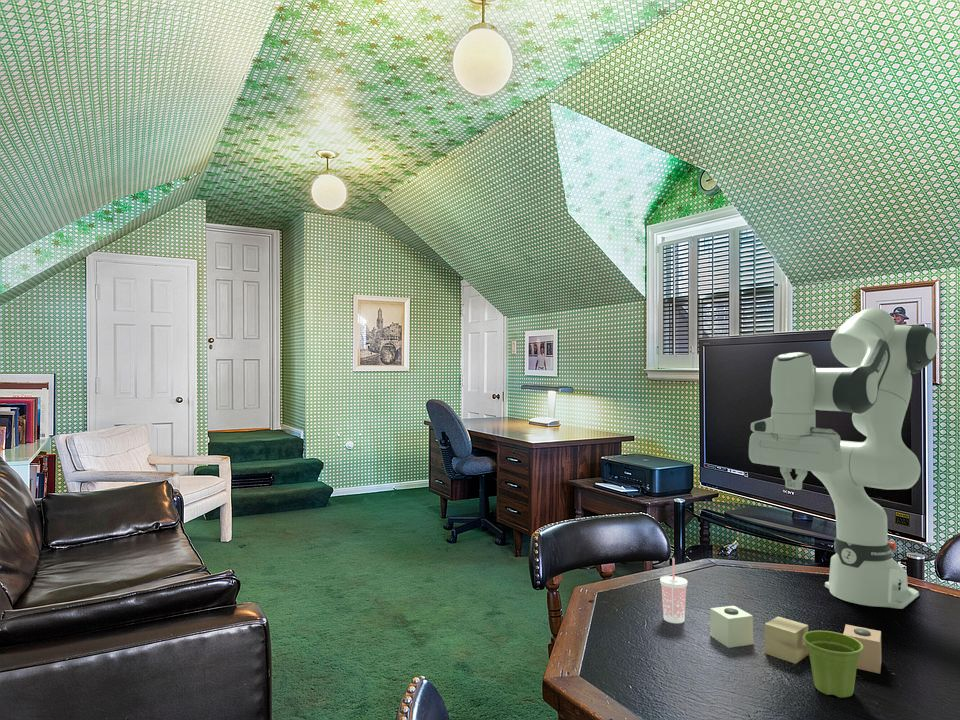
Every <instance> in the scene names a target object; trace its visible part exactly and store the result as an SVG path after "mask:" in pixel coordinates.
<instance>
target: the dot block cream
mask: <svg viewBox="0 0 960 720" xmlns="http://www.w3.org/2000/svg"><path fill="white" fill-rule="evenodd" d="M709 610H710V611H709V612H710V614H709V615H710V617H709V618H710V620H709V621H710V623H709V624H710V625H709V626H710V628H709V629H710V630H709V631H710V635H709V636H710V637H711V636H712V637H711V638H713V639H714V638H715V639H714V640H716V641H717V642H718V643H720V644H722V645H724V646H725V647H726V648H728V649H729V648H735V647H742V646H743V647H745V646H750V645H752V646H753V645H754V615H752V614H751V613H749V612H747V611H744V610H743V609H741V608H740V607H737V606H735V605H727V606H719V607H710V609H709Z"/></svg>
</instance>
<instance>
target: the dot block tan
mask: <svg viewBox="0 0 960 720" xmlns="http://www.w3.org/2000/svg"><path fill="white" fill-rule="evenodd" d="M842 634H844V635H847V636H850V637H852V638H854V639H856V640H858V641H859V642H861V643H862V645H863V650H862V652H860V657H859V658H858V662H857V669H858V670H863V671H867V672H870V673H871V672H872V673H875V674H880V675H881V671H882V670H881V669H882V668H881V667H882V631H881V630H878V629H877V630H876V629H873V628H871V629H870V628H867V627H862V626H861V627H860V626H855V625H851V624H846V623H845V626H844V631H843V633H842Z"/></svg>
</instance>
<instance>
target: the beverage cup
mask: <svg viewBox="0 0 960 720" xmlns="http://www.w3.org/2000/svg"><path fill="white" fill-rule="evenodd" d="M671 559H672V575H665V576H662V577H660V578H659V581H660V585H661V599H662V612H663V620H664V621H665V622H668V623H671V624H682V623H684V622H685V615H686V602H687V601H686V599H687V598H686V597H687V586H688V583H689V582H688V579H686V578H684V577H681V576H676V575H675V574H676V572H675V571H676V567H675V566H676V565H675V564H676V563H675V561H676V560H675V557H672V558H671Z"/></svg>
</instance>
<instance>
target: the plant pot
mask: <svg viewBox="0 0 960 720" xmlns="http://www.w3.org/2000/svg"><path fill="white" fill-rule="evenodd" d="M803 640H804V641H805V642H806V646H807V649H808V657H809V662H810V666H811V667H810V668H811V673H812V678H813V685H814V688H815V689H817V691H819V692H820V693H822V694H823V695H827V696H829V695H830V696H831V695H833V696H835V697H837V698H843V699H844V698H849V697H851V696H853V694H854V691H855V682H856V676H857V662H858V658H859V657H860V652H862V650H863V645H862V643H861V642H859V641H858V640H856V639H854V638H852V637H850V636H847V635H844V634H843V633H840V632H836V631H831V630H830V631H829V630H811V631H808V632H807V633H805V634H804V635H803Z"/></svg>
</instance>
